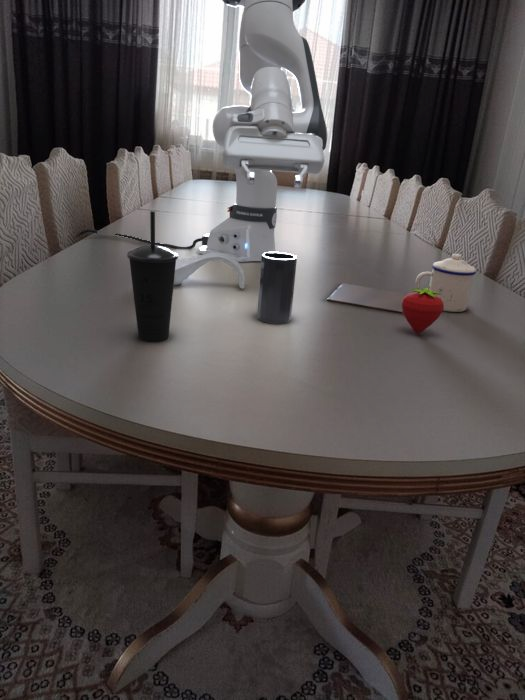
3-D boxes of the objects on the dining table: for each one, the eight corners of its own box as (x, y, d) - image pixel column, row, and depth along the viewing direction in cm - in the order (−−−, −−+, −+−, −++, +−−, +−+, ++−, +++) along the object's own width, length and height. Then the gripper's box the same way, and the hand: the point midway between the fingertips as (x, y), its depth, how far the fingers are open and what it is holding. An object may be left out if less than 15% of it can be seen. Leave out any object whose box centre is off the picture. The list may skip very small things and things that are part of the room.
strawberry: (394, 325, 100) (404, 274, 96) (434, 329, 99) (445, 279, 95) (398, 335, 94) (408, 282, 91) (440, 340, 94) (452, 286, 90)
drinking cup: (132, 327, 88) (130, 206, 81) (178, 329, 89) (180, 210, 81) (125, 344, 81) (122, 213, 73) (175, 346, 82) (176, 216, 74)
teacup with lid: (461, 302, 119) (473, 252, 115) (472, 314, 110) (484, 260, 106) (408, 297, 120) (418, 247, 116) (415, 309, 111) (425, 255, 107)
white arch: (134, 287, 111) (133, 253, 108) (145, 274, 122) (144, 243, 119) (244, 294, 112) (246, 261, 109) (245, 280, 123) (247, 250, 120)
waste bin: (251, 320, 96) (256, 256, 92) (263, 311, 102) (268, 250, 98) (284, 326, 95) (290, 261, 90) (294, 316, 100) (301, 255, 96)
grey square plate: (326, 300, 112) (327, 298, 112) (342, 284, 126) (342, 283, 126) (401, 313, 108) (402, 311, 107) (409, 295, 122) (409, 293, 122)
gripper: (318, 146, 110) (323, 198, 105) (222, 139, 108) (222, 191, 102) (325, 122, 105) (330, 175, 99) (224, 114, 102) (223, 168, 97)
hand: (274, 183), depth 101 cm, fingers open, 8 cm apart
